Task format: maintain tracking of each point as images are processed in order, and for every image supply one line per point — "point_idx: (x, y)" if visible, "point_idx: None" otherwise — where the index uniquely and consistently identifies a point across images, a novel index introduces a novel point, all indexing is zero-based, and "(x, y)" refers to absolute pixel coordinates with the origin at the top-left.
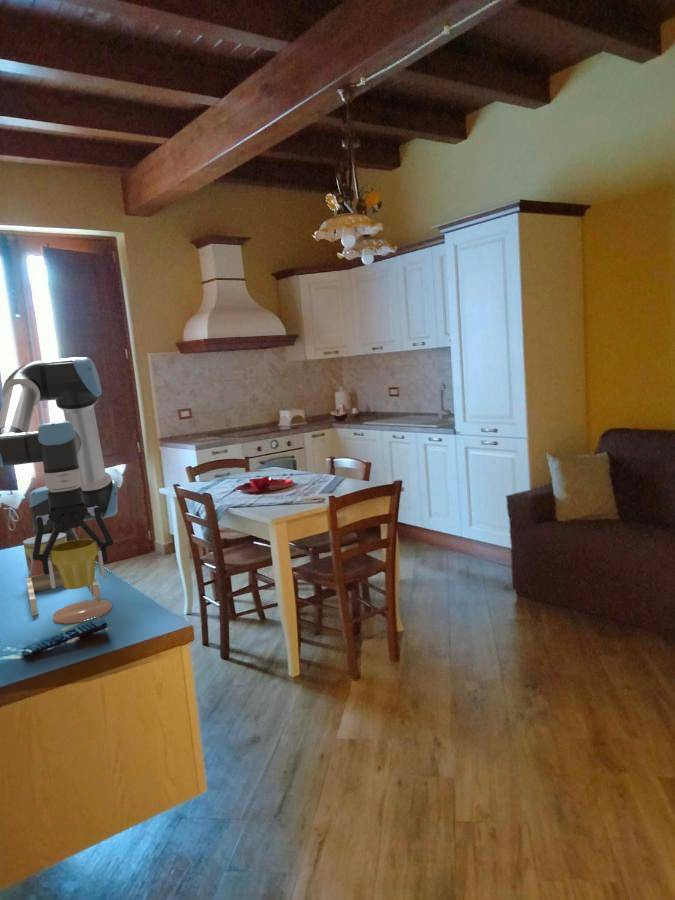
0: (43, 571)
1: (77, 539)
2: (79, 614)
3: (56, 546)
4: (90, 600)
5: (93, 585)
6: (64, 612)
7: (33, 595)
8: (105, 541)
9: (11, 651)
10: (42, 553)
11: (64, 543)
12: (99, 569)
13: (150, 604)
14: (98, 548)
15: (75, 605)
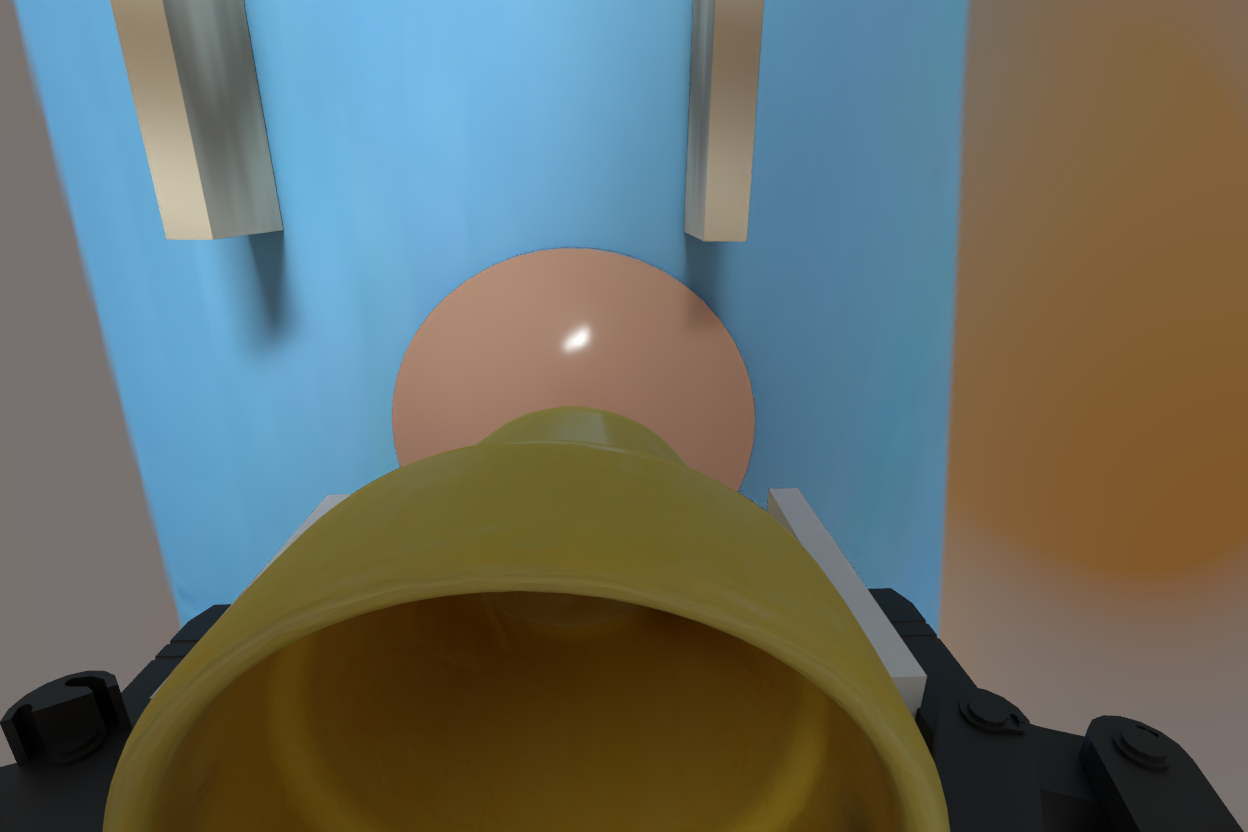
0: (188, 621)
1: (674, 601)
2: None
3: (215, 699)
4: (647, 270)
5: (704, 238)
6: (463, 402)
7: (175, 112)
8: (1068, 827)
9: None
10: (11, 809)
11: (376, 607)
12: (784, 521)
13: (931, 550)
14: (909, 677)
15: (539, 304)
